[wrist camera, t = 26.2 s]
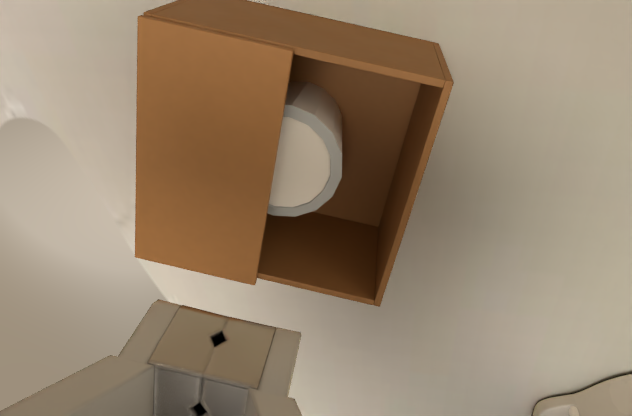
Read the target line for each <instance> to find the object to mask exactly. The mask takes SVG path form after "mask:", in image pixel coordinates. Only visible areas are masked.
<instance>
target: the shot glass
mask: <svg viewBox="0 0 632 416" xmlns="http://www.w3.org/2000/svg"><path fill="white" fill-rule="evenodd" d="M341 178H342V115H341V112H340V110H339V107H338V105H337V102H336V100H335V99H334V98H333V97H332V96H331V95H330V94H329V93H328V92H327V91H326V90H325V89H323V88H321V87H319V86H316V85H314V84H312V83H310V82H289V84H288V90H287V96H286V102H285V109H284V115H283V121H282V127H281V133H280V139H279V145H278V151H277V157H276V163H275V169H274V176H273V182H272V188H271V194H270V200H269V206H268V212H267V213H268V214H271V215H275V216H292V217H296V216H299V215H302V214H306V213H309V212H312V211H315V210H317V209H318V208H319V207H321V206H322V205H323V204H324V203H325V202H327V201H328V200H329V199H330V198H331V197H333V194H334V192H335V190H336V188H337V186H338V184H339V182H340V180H341Z"/></svg>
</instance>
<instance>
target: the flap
mask: <svg viewBox="0 0 632 416" xmlns="http://www.w3.org/2000/svg"><path fill="white" fill-rule="evenodd" d="M293 54H294V50H293V49H290V48H285V47H281V46H276V45H272V44H268V43H263V42H259V41H254V40H250V39H245V38H241V37H236V36H232V35H228V34H223V33H219V32H214V31H210V30H205V29H201V28H197V27H192V26H188V25H183V24H179V23H174V22H170V21H165V20H161V19H157V18H152V17H148V16H143V15H140V16H138V41H137V130H136V219H135V257H136V258H141V259H145V260H149V261H153V262H158V263H162V264H166V265H170V266H175V267H179V268H183V269H187V270H191V271H196V272H200V273H204V274H208V275H213V276H217V277H221V278H225V279H230V280H234V281H238V282H242V283H247V284H251V285H255V283H256V279H257V273H258V267H259V261H260V255H261V249H262V243H263V237H264V230H265V224H266V218H267V212H268V206H269V200H270V194H271V188H272V182H273V176H274V169H275V163H276V157H277V151H278V145H279V139H280V133H281V127H282V121H283V115H284V109H285V102H286V96H287V90H288V84H289V78H290V72H291V66H292V60H293Z"/></svg>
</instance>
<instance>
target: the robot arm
mask: <svg viewBox="0 0 632 416" xmlns="http://www.w3.org/2000/svg"><path fill="white" fill-rule="evenodd" d="M300 340H301V332H296V331H291V330H287V329H282V328H278V327H272V326H268V325H263V324H259V323H254V322H250V321H245V320H241V319H236V318H232V317H227V316H223V315H219V314H215V313H211V312H207V311H203V310H200V309H196V308H192V307H188V306H184V305H182V306H181V305H178V304H174V303H170V302H166V301H163V300H157V301H156V302H154V303H153V304H152V305H151V307H150V308H149V310H148V311H147V313H146V315H145V316H144V317H143V319H142V321H141V322H140V323H139V325H138V327H137V328H136V330H135V331H134V333H133V334H132V336H131V337H130V339H129V340H128V342H127V343H126V345H125V346H124V348H123V349H122V351H121V352H120V354H119V356H118V357H116V356H112V355H110V356H108V357H106V358H104V359H102V360H100V361H98V362H96V363H94V364H92V365H90V366H88V367H86V368H84V369H82V370H80V371H78V372H76V373H74V374H72V375H70V376H68V377H66V378H65V379H62V380H60V381H58V382H56V383H55V384H52V385H50V386H48V387H46V388H45V389H43V390H41V391H39V392H37V393H35V394H33V395H31V396H29V397H27V398H25V399H23V400H21V401H19V402H17V403H15V404H13V405H11V406H9V407H7V408H5V409H3V410H1V411H0V416H302V414H301V412H300V410H299V408H298V406H297V403H296V401H295V399H293V398H289V397H288V394H289V390H290V385H291V381H292V376H293V372H294V367H295V362H296V358H297V353H298V349H299V344H300ZM532 416H632V374H629V375H624V376H620V377H616V378H613V379H609V380H606V381H604V382H601V383H599V384H596V385H594V386H592V387H590V388H588V389H585V390H583V391H581V392H578V393H575V394H569V395H563V396H556V397H551V398H547V399H544V400H542V401H540V402H538V403H537V405H536V406H535V409H534V412H533V415H532Z"/></svg>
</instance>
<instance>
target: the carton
mask: <svg viewBox="0 0 632 416" xmlns="http://www.w3.org/2000/svg"><path fill="white" fill-rule="evenodd" d="M144 16H148V17H152V18H157V19H161V20H165V21H170V22H174V23H179V24H183V25H188V26H192V27H197V28H201V29H205V30H210V31H214V32H219V33H223V34H228V35H232V36H236V37H241V38H245V39H250V40H254V41H259V42H263V43H268V44H272V45H276V46H281V47H285V48H290V49H293V50H294V54H293V60H292V66H291V72H290V78H289V82H310V83H312V84H314V85H316V86H319V87H321V88H323V89H325V90H326V91H327V92H328V93H329V94H330V95H331V96H332V97H333V98H334V99H335V100H336V102H337V105H338V107H339V110H340V112H341V115H342V178H341V180H340V182H339V184H338V186H337V188H336V190H335V192H334V194H333V197H331V198H330V199H329V200H328V201H327V202H325V203H324V204H323V205H322V206H321V207H319V208H318V209H317V210H315V211H312V212H309V213H306V214H302V215H299V216H296V217H292V216H275V215H271V214H268V213H267V218H266V224H265V230H264V237H263V243H262V249H261V255H260V261H259V267H258V273H257V278H260V279H264V280H268V281H273V282H277V283H281V284H285V285H290V286H294V287H298V288H302V289H307V290H311V291H315V292H319V293H323V294H328V295H332V296H336V297H340V298H345V299H349V300H353V301H357V302H362V303H366V304H370V305H374V306H378V307H379V306H380V304H381V301H382V298H383V295H384V292H385V289H386V286H387V283H388V280H389V277H390V274H391V271H392V268H393V265H394V262H395V259H396V256H397V253H398V250H399V247H400V244H401V241H402V237H403V234H404V231H405V228H406V225H407V222H408V219H409V216H410V213H411V210H412V207H413V204H414V201H415V198H416V195H417V192H418V189H419V186H420V183H421V180H422V177H423V174H424V171H425V168H426V165H427V162H428V159H429V156H430V153H431V150H432V147H433V144H434V141H435V138H436V134H437V131H438V128H439V125H440V122H441V119H442V116H443V113H444V110H445V107H446V104H447V101H448V98H449V95H450V92H451V89H452V86H453V83H454V82H453V79H452V77H451V74H450V72H449V69H448V66H447V64H446V61H445V59H444V56H443V54H442V51H441V48H440V46H439V44H438V43H434V42H430V41H426V40H421V39H417V38H412V37H408V36H403V35H399V34H394V33H390V32H385V31H381V30H376V29H372V28H367V27H363V26H359V25H354V24H350V23H345V22H341V21H336V20H332V19H327V18H323V17H318V16H314V15H309V14H305V13H300V12H296V11H292V10H287V9H283V8H278V7H274V6H269V5H265V4H260V3H256V2H251V1H247V0H178V1H175V2H172V3H169V4H166V5H163V6H161V7H158V8H155V9H152V10H149V11H146V12H144Z"/></svg>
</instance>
